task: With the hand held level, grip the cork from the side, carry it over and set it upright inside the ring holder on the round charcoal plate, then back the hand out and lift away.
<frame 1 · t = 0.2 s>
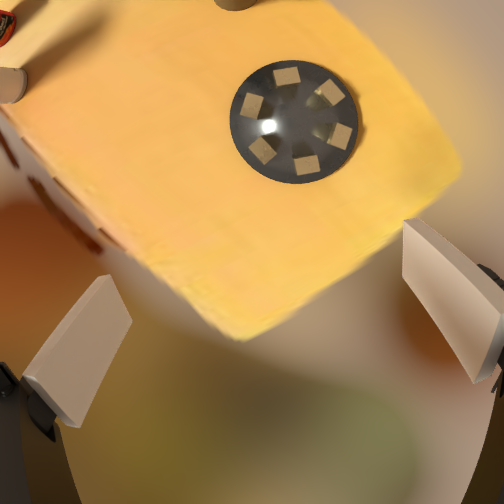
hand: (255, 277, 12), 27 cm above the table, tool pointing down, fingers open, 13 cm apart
ring holder: (294, 121, 34), on the table
canned food: (4, 31, 25), on the table
travel mug: (17, 85, 31), on the table
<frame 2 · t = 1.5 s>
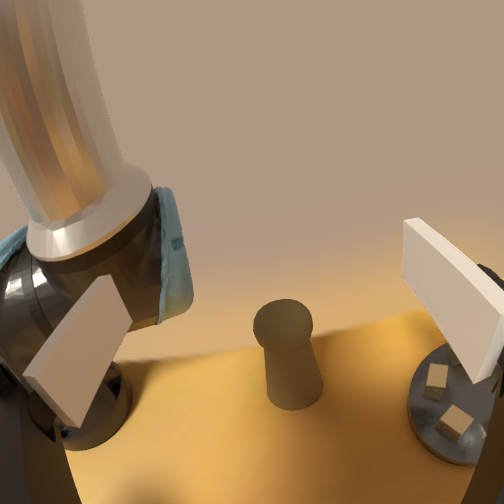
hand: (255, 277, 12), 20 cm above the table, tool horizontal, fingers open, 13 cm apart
cork: (295, 388, 29), on the table
ring holder: (476, 397, 20), on the table
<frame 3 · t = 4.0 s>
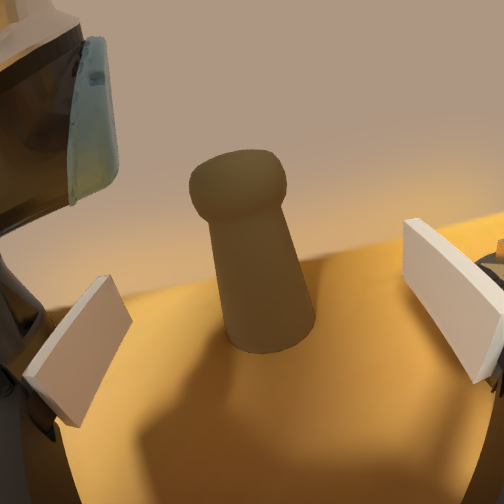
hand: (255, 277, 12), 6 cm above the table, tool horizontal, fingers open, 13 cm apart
cork: (270, 323, 19), on the table
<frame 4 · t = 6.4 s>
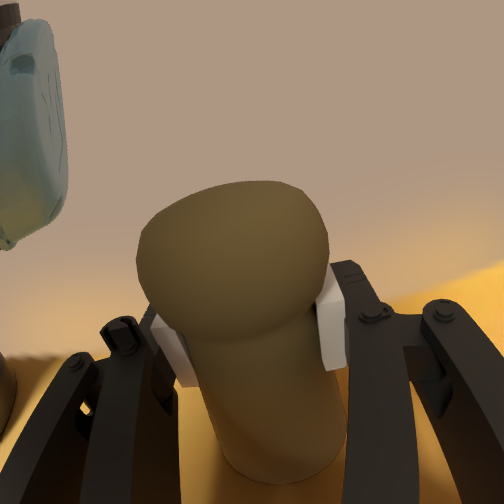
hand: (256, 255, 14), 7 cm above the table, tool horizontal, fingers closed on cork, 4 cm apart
cork: (282, 430, 12), on the table, touching gripper
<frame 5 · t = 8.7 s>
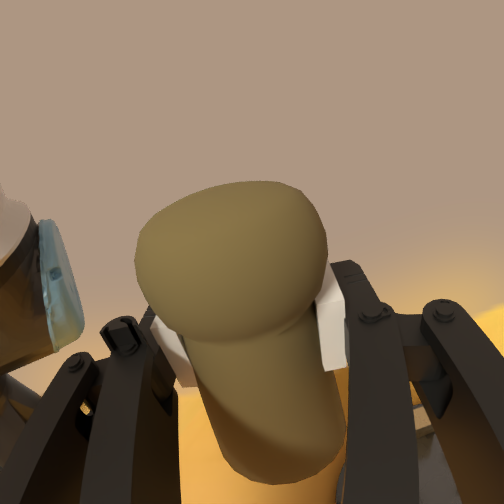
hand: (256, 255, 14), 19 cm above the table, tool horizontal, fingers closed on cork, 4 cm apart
cork: (282, 431, 12), point 12 cm above the table, touching gripper
ring holder: (431, 482, 14), on the table
when the fingers open (9 cm above the table, at t = 11.3 s): cork drops 2 cm, resting on ring holder.
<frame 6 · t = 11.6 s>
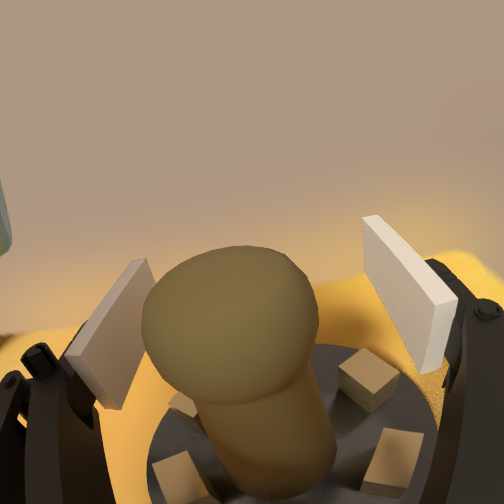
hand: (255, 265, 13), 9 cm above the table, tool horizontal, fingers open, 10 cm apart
cork: (278, 451, 13), point 1 cm above the table, touching ring holder
ring holder: (289, 452, 13), on the table
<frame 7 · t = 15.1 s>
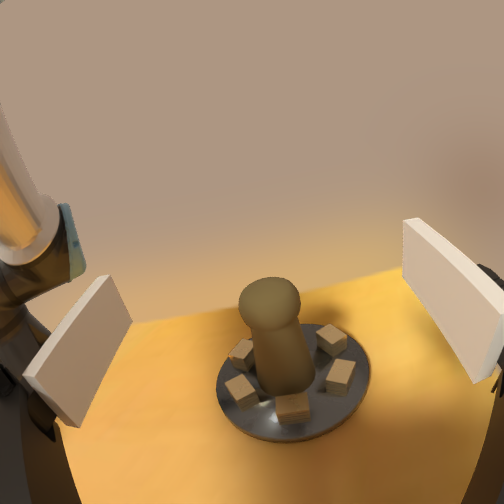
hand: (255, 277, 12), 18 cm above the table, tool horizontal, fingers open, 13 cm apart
cork: (286, 376, 28), point 1 cm above the table, touching ring holder
ring holder: (292, 378, 29), on the table
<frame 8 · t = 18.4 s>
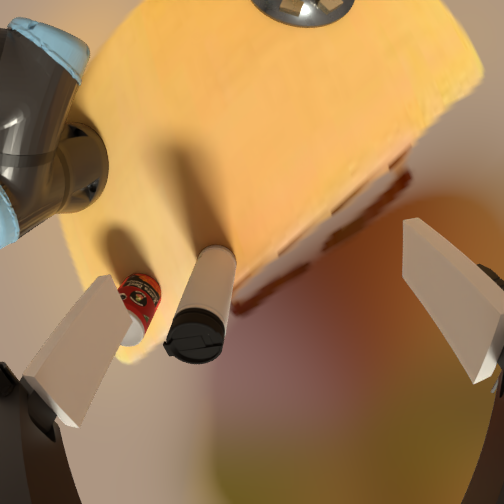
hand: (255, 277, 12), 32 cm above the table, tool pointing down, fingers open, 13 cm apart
canned food: (142, 290, 51), on the table
travel mug: (216, 261, 48), on the table
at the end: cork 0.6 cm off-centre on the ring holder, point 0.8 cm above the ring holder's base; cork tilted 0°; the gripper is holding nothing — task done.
